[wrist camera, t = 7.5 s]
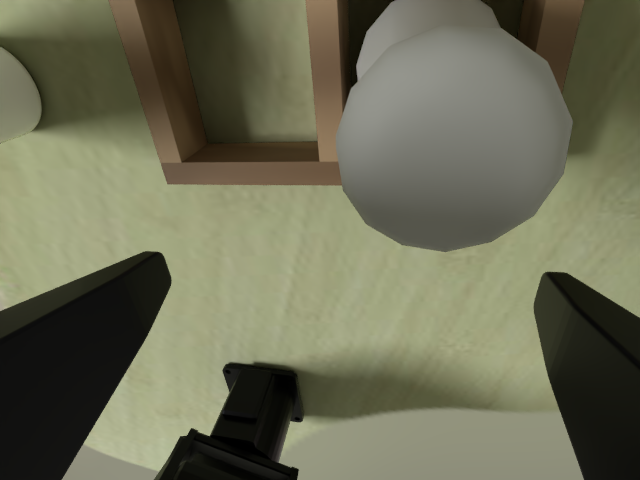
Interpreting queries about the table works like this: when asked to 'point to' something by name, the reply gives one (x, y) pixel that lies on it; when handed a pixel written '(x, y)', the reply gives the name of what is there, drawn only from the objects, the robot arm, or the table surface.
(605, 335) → the robot arm
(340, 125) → the salt shaker
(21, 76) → the drinking glass
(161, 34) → the socket block
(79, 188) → the table surface
